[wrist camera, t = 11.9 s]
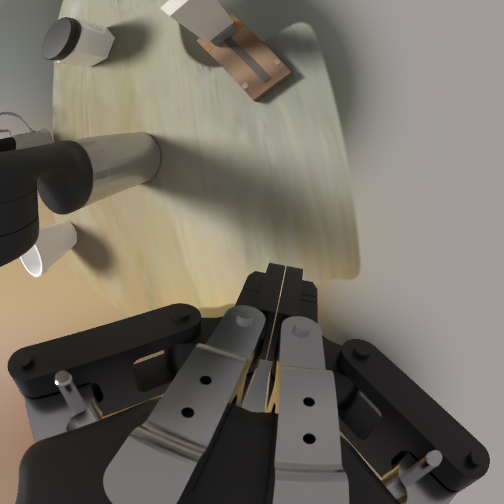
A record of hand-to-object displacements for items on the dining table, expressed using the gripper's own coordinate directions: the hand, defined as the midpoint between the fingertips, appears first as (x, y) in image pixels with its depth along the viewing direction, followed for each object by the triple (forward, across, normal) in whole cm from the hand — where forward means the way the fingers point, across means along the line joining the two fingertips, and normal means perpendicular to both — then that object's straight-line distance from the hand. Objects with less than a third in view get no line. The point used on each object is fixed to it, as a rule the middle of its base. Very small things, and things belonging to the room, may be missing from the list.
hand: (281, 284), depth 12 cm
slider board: (+32, +11, -18) cm, 38 cm away
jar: (+32, +41, -23) cm, 57 cm away
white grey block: (+30, +15, -21) cm, 39 cm away
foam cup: (+32, +49, +18) cm, 61 cm away
